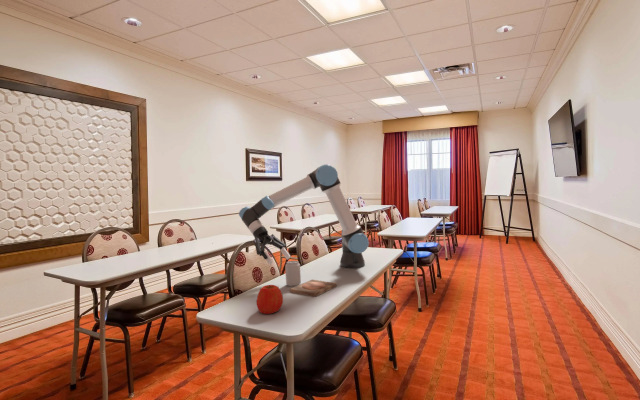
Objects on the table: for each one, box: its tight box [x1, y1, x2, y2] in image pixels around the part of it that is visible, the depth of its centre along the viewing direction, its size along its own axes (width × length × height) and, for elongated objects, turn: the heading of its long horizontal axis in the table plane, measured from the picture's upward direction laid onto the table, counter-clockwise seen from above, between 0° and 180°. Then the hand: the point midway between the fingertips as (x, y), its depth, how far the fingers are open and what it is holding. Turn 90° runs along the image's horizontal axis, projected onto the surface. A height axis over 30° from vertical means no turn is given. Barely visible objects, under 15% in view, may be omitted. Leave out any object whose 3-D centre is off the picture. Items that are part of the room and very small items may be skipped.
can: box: [284, 260, 302, 288], centre depth 174 cm, size 8×8×12 cm
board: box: [289, 279, 338, 297], centre depth 166 cm, size 18×15×2 cm
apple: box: [256, 284, 284, 315], centre depth 138 cm, size 11×11×11 cm
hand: (280, 260), depth 178 cm, fingers open, 13 cm apart
